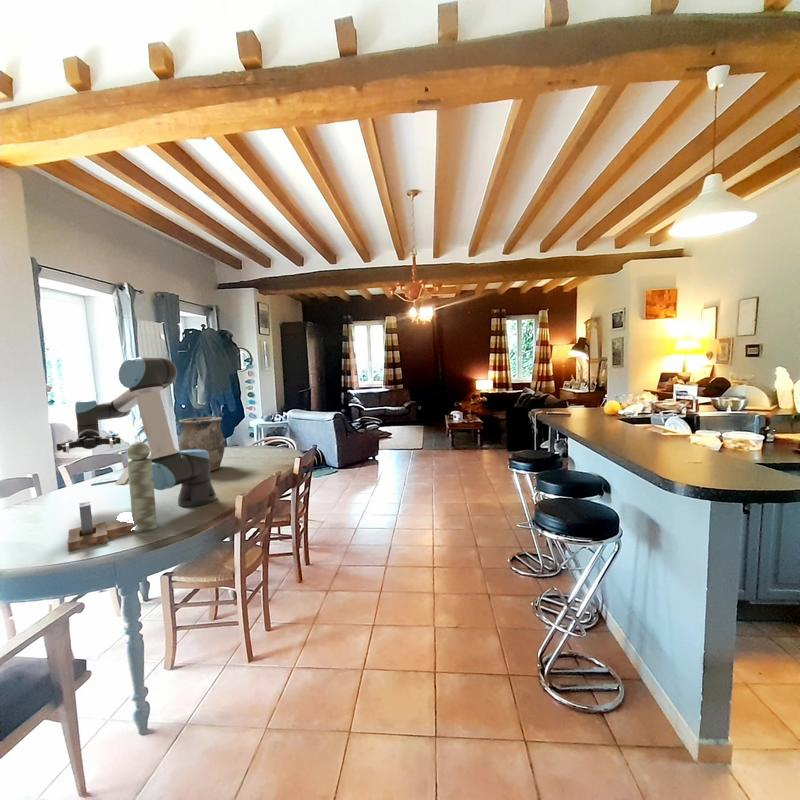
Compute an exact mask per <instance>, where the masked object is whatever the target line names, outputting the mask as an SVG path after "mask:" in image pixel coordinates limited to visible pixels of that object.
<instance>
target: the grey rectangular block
mask: <svg viewBox="0 0 800 800" xmlns="http://www.w3.org/2000/svg"><path fill="white" fill-rule="evenodd" d="M78 504H79V515H80V525H81V526H80V527H81V528H82V536H85V535H90V534H93V518H92V517H93V516H92V508H91V506H92V505H91V501H85V502H79V503H78Z"/></svg>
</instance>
